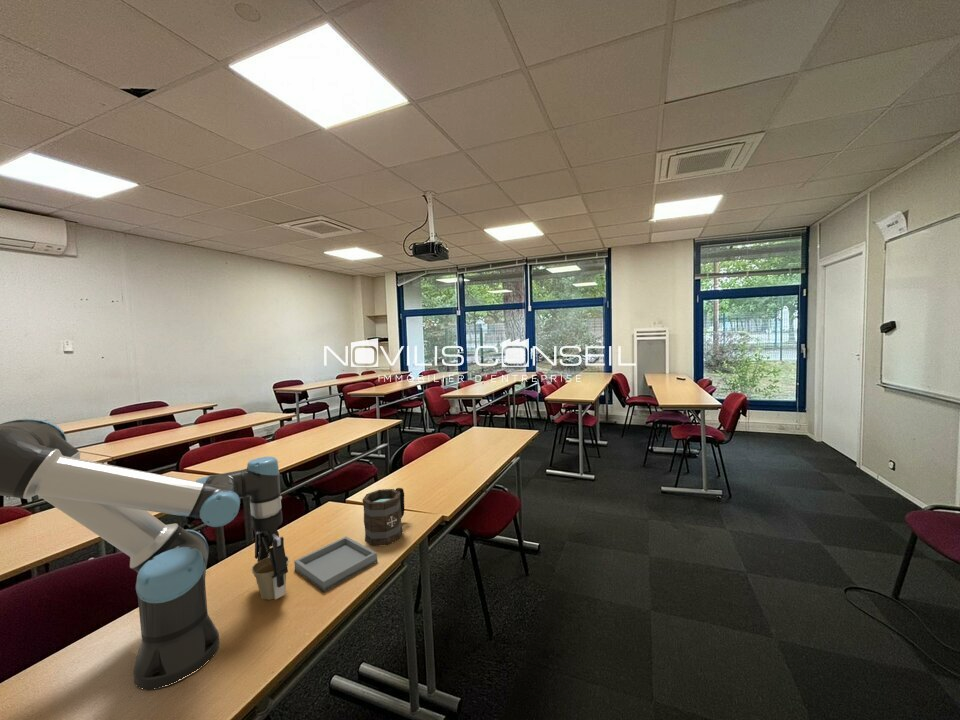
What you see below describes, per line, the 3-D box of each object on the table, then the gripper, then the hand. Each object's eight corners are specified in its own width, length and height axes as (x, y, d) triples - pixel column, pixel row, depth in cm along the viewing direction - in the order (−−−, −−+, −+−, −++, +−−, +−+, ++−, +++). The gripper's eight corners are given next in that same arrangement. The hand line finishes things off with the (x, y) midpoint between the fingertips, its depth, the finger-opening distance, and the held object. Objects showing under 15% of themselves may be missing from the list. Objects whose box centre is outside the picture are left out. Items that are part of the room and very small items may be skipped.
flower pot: (246, 598, 106) (244, 568, 106) (278, 579, 114) (275, 551, 114) (267, 608, 102) (264, 577, 101) (298, 587, 110) (296, 558, 110)
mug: (388, 549, 128) (385, 506, 128) (356, 542, 134) (353, 501, 133) (419, 522, 146) (416, 484, 146) (390, 518, 152) (388, 481, 151)
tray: (324, 592, 107) (323, 581, 107) (294, 570, 119) (294, 560, 119) (377, 561, 121) (376, 552, 121) (346, 544, 133) (346, 536, 133)
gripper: (297, 517, 103) (303, 597, 104) (265, 499, 117) (270, 570, 118) (268, 528, 97) (275, 613, 98) (237, 508, 111) (244, 582, 112)
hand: (272, 589), depth 108 cm, fingers closed on flower pot, 9 cm apart
